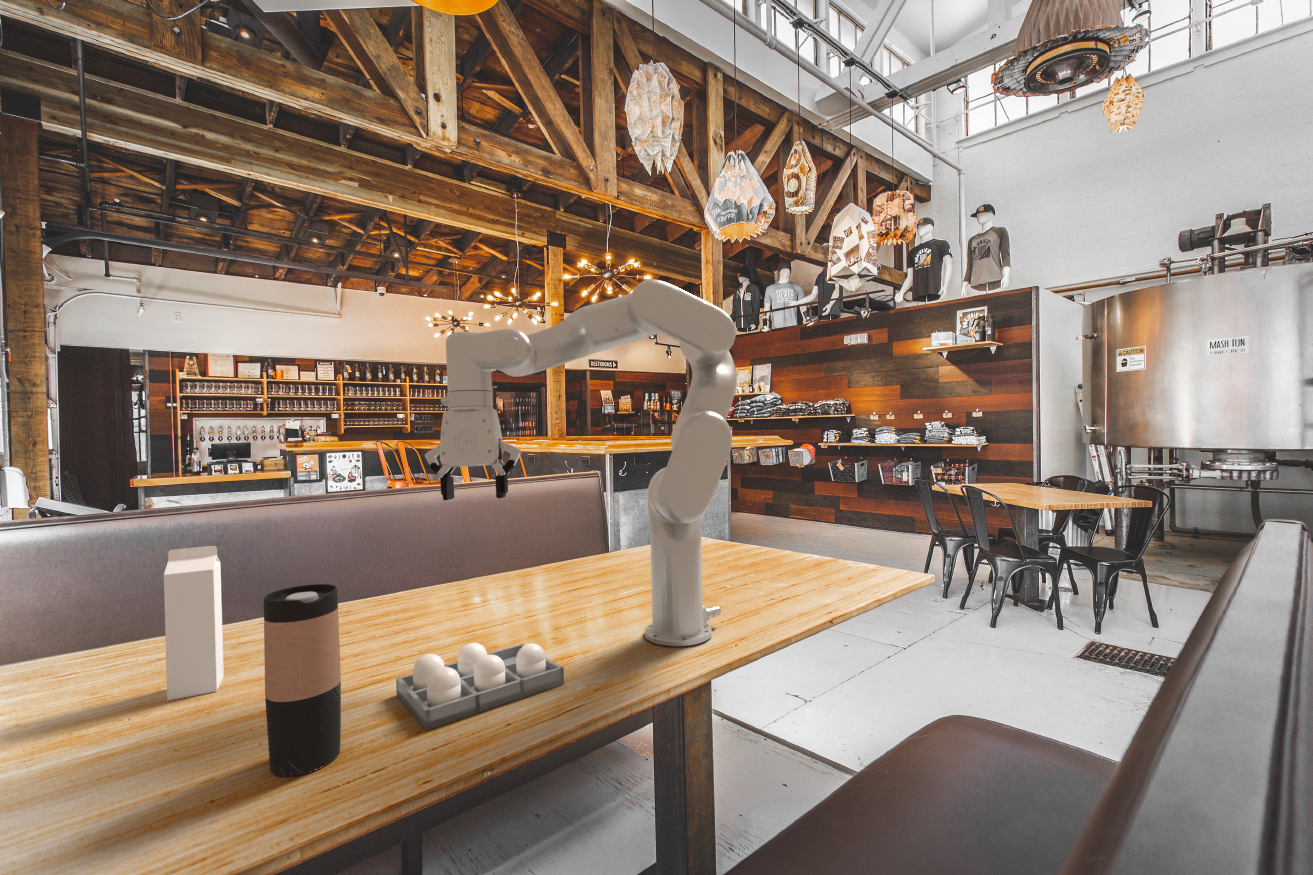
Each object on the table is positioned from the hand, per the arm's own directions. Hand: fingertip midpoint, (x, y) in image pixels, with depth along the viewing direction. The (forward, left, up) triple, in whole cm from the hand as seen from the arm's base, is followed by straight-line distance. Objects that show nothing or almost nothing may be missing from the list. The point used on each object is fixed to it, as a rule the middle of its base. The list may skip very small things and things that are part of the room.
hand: (474, 498), depth 101 cm
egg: (+12, +12, -26) cm, 31 cm away
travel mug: (+29, +20, -27) cm, 45 cm away
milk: (+39, -15, -27) cm, 50 cm away
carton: (+6, +16, -27) cm, 32 cm away
